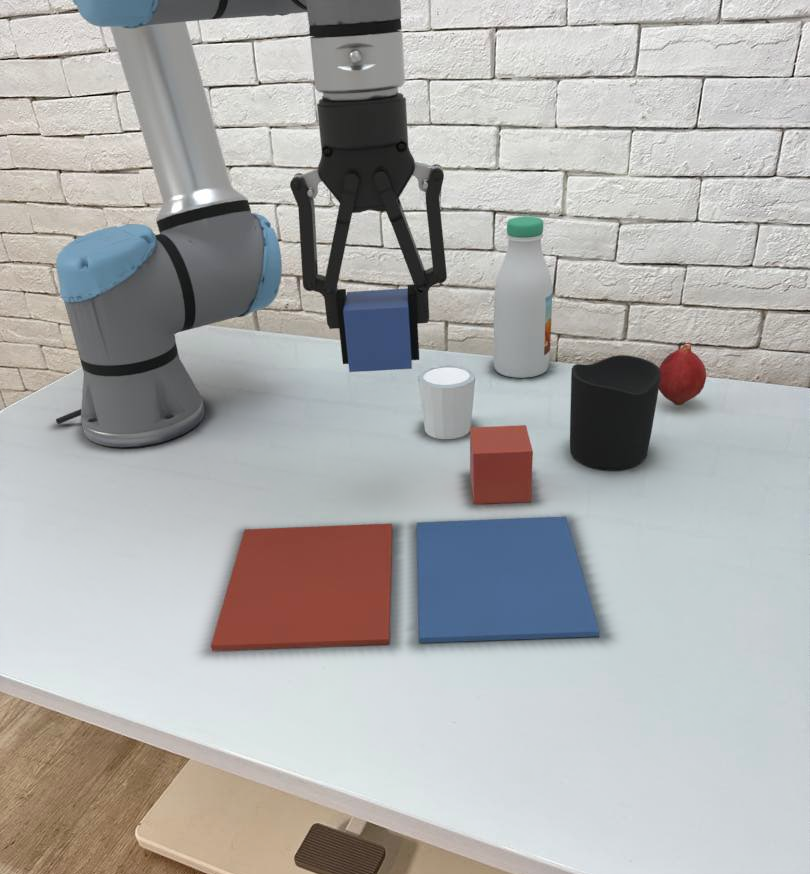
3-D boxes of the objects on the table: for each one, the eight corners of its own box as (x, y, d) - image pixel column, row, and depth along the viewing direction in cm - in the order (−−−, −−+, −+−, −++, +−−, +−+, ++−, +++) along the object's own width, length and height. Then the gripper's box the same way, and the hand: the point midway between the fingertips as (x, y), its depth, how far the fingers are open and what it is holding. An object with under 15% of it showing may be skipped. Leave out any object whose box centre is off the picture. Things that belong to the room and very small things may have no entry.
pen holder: (646, 477, 92) (657, 391, 87) (559, 467, 95) (564, 384, 90) (654, 439, 100) (664, 357, 94) (573, 431, 102) (578, 351, 97)
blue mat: (419, 643, 71) (418, 637, 71) (417, 527, 86) (416, 522, 86) (599, 636, 71) (599, 631, 71) (565, 521, 86) (565, 516, 86)
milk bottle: (534, 383, 115) (540, 229, 104) (483, 373, 118) (484, 224, 107) (558, 363, 120) (565, 215, 109) (508, 354, 124) (511, 210, 113)
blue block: (349, 372, 82) (343, 310, 78) (352, 350, 87) (347, 291, 83) (411, 368, 81) (408, 306, 78) (411, 347, 86) (408, 288, 83)
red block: (473, 504, 90) (473, 453, 86) (470, 476, 95) (469, 427, 91) (531, 501, 89) (532, 451, 86) (524, 474, 94) (525, 424, 91)
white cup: (471, 443, 101) (471, 388, 97) (414, 440, 102) (412, 386, 99) (479, 417, 107) (479, 365, 103) (425, 415, 108) (423, 363, 104)
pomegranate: (650, 411, 106) (657, 349, 101) (657, 393, 110) (664, 333, 106) (698, 417, 104) (708, 354, 99) (703, 398, 108) (713, 337, 104)
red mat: (211, 650, 72) (210, 645, 72) (245, 534, 87) (244, 529, 87) (389, 644, 71) (388, 638, 71) (392, 528, 86) (392, 523, 86)
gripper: (241, 106, 69) (281, 376, 81) (477, 90, 68) (480, 365, 81) (255, 96, 75) (289, 349, 87) (471, 81, 74) (475, 338, 87)
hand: (381, 356), depth 84 cm, fingers closed on blue block, 6 cm apart
